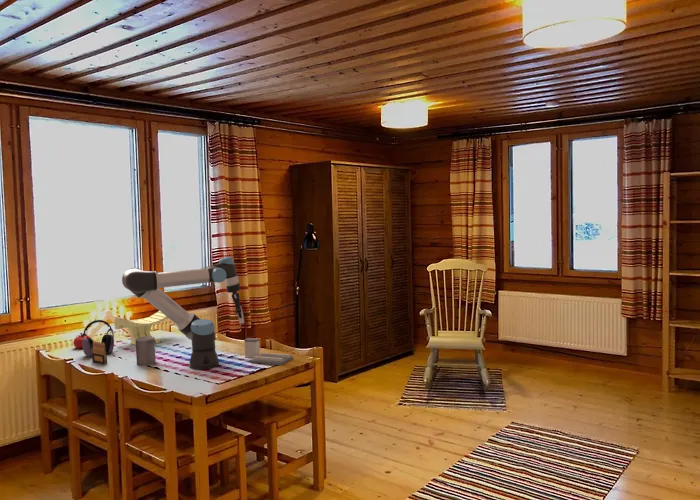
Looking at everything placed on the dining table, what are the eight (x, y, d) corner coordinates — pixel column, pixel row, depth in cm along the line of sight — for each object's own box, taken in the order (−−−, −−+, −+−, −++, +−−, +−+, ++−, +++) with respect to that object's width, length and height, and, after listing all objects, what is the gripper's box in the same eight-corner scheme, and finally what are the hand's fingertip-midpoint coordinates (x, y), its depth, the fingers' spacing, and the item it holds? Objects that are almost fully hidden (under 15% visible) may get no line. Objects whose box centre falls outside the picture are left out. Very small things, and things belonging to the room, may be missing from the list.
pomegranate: (93, 347, 352) (92, 332, 351) (75, 350, 346) (74, 335, 345) (90, 345, 360) (89, 330, 359) (72, 347, 354) (71, 332, 354)
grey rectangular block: (256, 358, 316) (255, 340, 315) (245, 357, 318) (244, 339, 317) (260, 356, 319) (259, 338, 319) (248, 355, 322) (248, 338, 321)
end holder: (280, 365, 300) (280, 360, 300) (250, 362, 307) (250, 357, 306) (292, 358, 313) (292, 353, 313) (263, 356, 320) (263, 351, 320)
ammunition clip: (92, 362, 318) (91, 340, 317) (95, 361, 319) (94, 339, 318) (104, 364, 312) (103, 342, 311) (107, 363, 313) (106, 341, 312)
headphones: (116, 352, 337) (114, 318, 336) (87, 358, 325) (85, 323, 324) (109, 350, 344) (107, 317, 342) (80, 356, 332) (78, 321, 330)
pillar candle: (136, 362, 315) (134, 335, 313) (155, 359, 318) (153, 333, 317) (137, 366, 306) (135, 338, 304) (156, 364, 309) (155, 336, 308)
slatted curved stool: (160, 336, 379) (159, 309, 377) (173, 339, 368) (172, 311, 367) (115, 345, 357) (114, 316, 356) (128, 349, 346) (126, 319, 345)
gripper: (239, 286, 311) (249, 323, 315) (238, 278, 335) (247, 313, 339) (225, 290, 310) (235, 327, 313) (225, 281, 334) (234, 316, 338)
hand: (241, 320), depth 326 cm, fingers open, 13 cm apart
